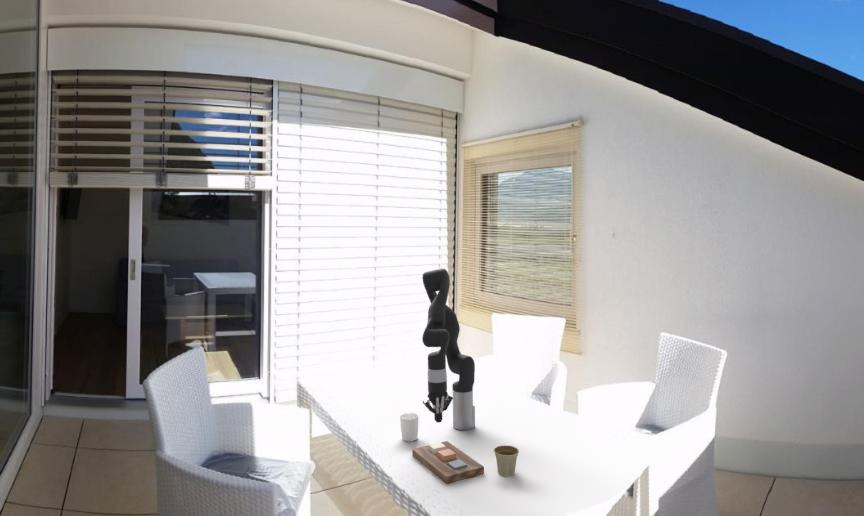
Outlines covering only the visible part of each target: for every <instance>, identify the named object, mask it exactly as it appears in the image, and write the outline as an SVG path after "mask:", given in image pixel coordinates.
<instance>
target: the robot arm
mask: <svg viewBox="0 0 864 516" xmlns="http://www.w3.org/2000/svg"><path fill="white" fill-rule="evenodd" d="M421 277H422V282H423V287H424V289H425V292H426V294H427V298H428V299H429V302H430V304H429V307H428V310H427V311H428V312H427V323H426V325H425V326H426V327H425V329H424V330H423V334H422V337H421V338H422V339H421V340H422V343H423V345H424V346H425V347H427V348H440V349H439V350H437V351H433V352H430V353H429V354H428V355H427V391H428V394H427V398H426V399H425V400H423V401H422V404H423V405H424V406H425V407H426V408H427V410H428V411H429V412H431V413H433V414H434V418H433V419H434V421H435V422H436V423H442V421H443V412H445V411H447V410H448V409H449V406H450V405H451V403H452V428H454V429H456V430H458V431H459V430H460V431H467V430H472V429H473V428H474V427H476V406H475V405H474V395H473V394H474V384H475V372H476V371H475V370H476V366H475V360H474V358H473V357H472V356H470V355H466V354H462V353H461V351H460V348H459V345H458V339H459V335H460V331H461V330H460V323H459V319H458V317H457V314H456V312H455V311H454V310H453V309H452V308H450V306H448V305H447V301H448V297H449V292H450V283H451V278H450V275H449V273H448V271H447V269H446V268H439V269H433V270H429V271H426V272H424V273H422V276H421ZM446 364H447V365H448V369H449V370H450V372H451V373H453V374H456V375H459V376H458V380H457V381H454V382H453V383H452V388H451V389H452V395H449V393H448V380H447V379H448V376H447V374H448V373H447V368H446V367H447V365H446Z"/></svg>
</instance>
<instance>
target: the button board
mask: <svg viewBox="0 0 864 516" xmlns="http://www.w3.org/2000/svg"><path fill="white" fill-rule="evenodd" d="M441 443H442V444H443V445H445V446H446V449H450V450H452V451H453V452H455V453H456V459H454V460H450V461H446V462H443V461H442V460H440V459H439V458H438V454H433V453H431V452H430V451H429V450H428V444H427V445H423V446H420V447H415V448H412V449H411V451H412V453H411V454H412V455H411V456H412V457H413V458H414V459H415V460H416V461H417V462H419V463H420V464H421V465H422V466H423V467H425V468H426V469H427V470H428V471H429V472H431V473H432V474H433V475H434V476H435V477H436V478H438V479H439V480H440V481H441V482H442V483H444V484H445V485H446V486H448V485H450V484H454V483H458V482H462V481H465V480H469V478H470V479H473V478H477V477H480V476H484V475H485V466H484V465H482V464H481V463H480V462H478V461H477V460H475V459H474V458H472V457H471V456H469V455H468V454H466V453H465V452H464V451H463V450H461V449H460V448H458V447H456V446H455V445H454V444H452V443H450V442H449V441H447V440H445V441H441ZM459 459H460V460H461V461H463V462H464V463H465V464H467V467H465V468H461V469H457V470H453V469H452V468H451V467H449V466H448V462H451V461H455V460H459ZM483 474H484V475H483Z"/></svg>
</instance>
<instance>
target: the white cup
mask: <svg viewBox="0 0 864 516" xmlns="http://www.w3.org/2000/svg"><path fill="white" fill-rule="evenodd" d="M399 418H400V430H401V431H400V432H401V439H402V441H404V440H405V442H414V440H415V441H417V440H418V439H417V438H418V433H419V414H418V413H414V412H407V413H402V414H401V415H400V417H399ZM416 439H417V440H416Z"/></svg>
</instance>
